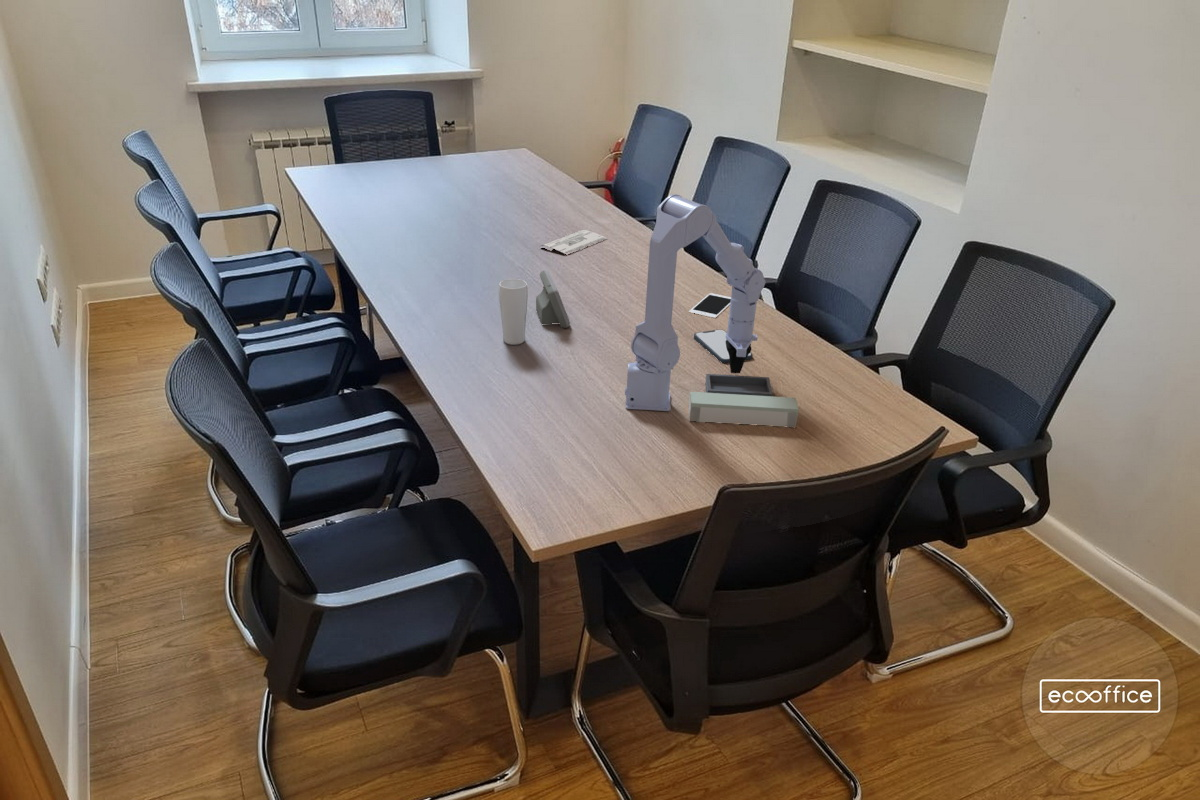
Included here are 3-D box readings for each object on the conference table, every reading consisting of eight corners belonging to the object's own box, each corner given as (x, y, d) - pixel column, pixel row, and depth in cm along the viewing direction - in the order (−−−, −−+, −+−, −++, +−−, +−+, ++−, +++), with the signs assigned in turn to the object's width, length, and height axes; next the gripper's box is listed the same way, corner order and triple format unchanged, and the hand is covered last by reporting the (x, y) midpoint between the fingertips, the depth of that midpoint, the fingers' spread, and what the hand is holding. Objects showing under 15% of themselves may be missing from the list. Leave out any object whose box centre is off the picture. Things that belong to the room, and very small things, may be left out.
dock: (689, 421, 182) (691, 403, 179) (688, 406, 187) (690, 388, 185) (795, 427, 181) (798, 409, 179) (791, 412, 186) (794, 394, 184)
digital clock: (569, 330, 220) (570, 291, 215) (534, 330, 220) (534, 290, 215) (570, 306, 234) (571, 268, 229) (536, 305, 234) (536, 267, 229)
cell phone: (687, 313, 233) (688, 311, 233) (709, 294, 246) (709, 292, 246) (715, 319, 230) (715, 317, 230) (735, 300, 243) (736, 298, 242)
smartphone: (754, 361, 209) (722, 334, 222) (755, 355, 209) (723, 328, 221) (722, 366, 206) (691, 338, 219) (722, 360, 206) (691, 332, 218)
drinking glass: (516, 333, 218) (515, 276, 210) (533, 341, 213) (533, 284, 206) (494, 340, 213) (492, 282, 206) (512, 349, 209) (511, 291, 202)
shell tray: (706, 400, 190) (707, 390, 188) (705, 384, 197) (706, 373, 195) (771, 404, 189) (772, 394, 188) (767, 387, 196) (769, 377, 195)
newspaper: (577, 233, 291) (578, 226, 290) (606, 244, 286) (607, 237, 284) (533, 249, 275) (534, 242, 274) (563, 262, 269) (564, 254, 268)
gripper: (763, 331, 187) (755, 387, 194) (756, 305, 200) (749, 359, 206) (730, 329, 188) (723, 385, 194) (725, 304, 200) (720, 357, 207)
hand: (735, 371), depth 200 cm, fingers closed
